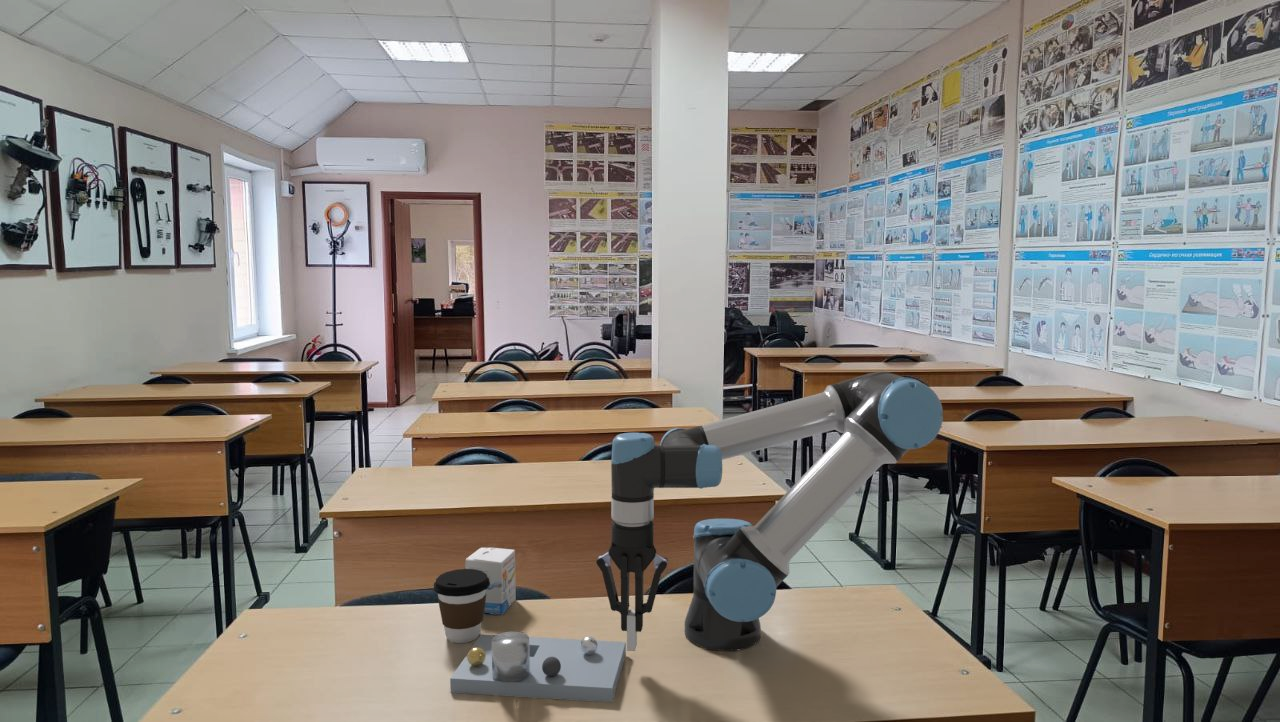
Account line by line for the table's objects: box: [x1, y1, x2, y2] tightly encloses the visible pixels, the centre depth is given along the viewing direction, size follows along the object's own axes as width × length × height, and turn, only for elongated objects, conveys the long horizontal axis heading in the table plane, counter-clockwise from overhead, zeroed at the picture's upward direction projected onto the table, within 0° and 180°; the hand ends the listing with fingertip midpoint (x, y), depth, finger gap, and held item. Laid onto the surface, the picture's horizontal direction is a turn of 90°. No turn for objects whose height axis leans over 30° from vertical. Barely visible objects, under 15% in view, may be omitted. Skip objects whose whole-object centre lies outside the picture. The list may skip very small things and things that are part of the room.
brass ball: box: [466, 647, 486, 666], centre depth 138 cm, size 3×3×3 cm
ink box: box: [464, 547, 517, 615], centre depth 170 cm, size 9×8×12 cm
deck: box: [449, 633, 627, 703], centre depth 141 cm, size 28×17×2 cm, turn 83°
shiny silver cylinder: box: [492, 630, 530, 682], centre depth 135 cm, size 6×6×6 cm
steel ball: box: [580, 635, 598, 655], centre depth 143 cm, size 3×3×3 cm
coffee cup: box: [433, 568, 490, 644], centre depth 155 cm, size 11×11×12 cm
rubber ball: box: [542, 657, 561, 677], centre depth 135 cm, size 3×3×3 cm
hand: (631, 647), depth 142 cm, fingers closed
